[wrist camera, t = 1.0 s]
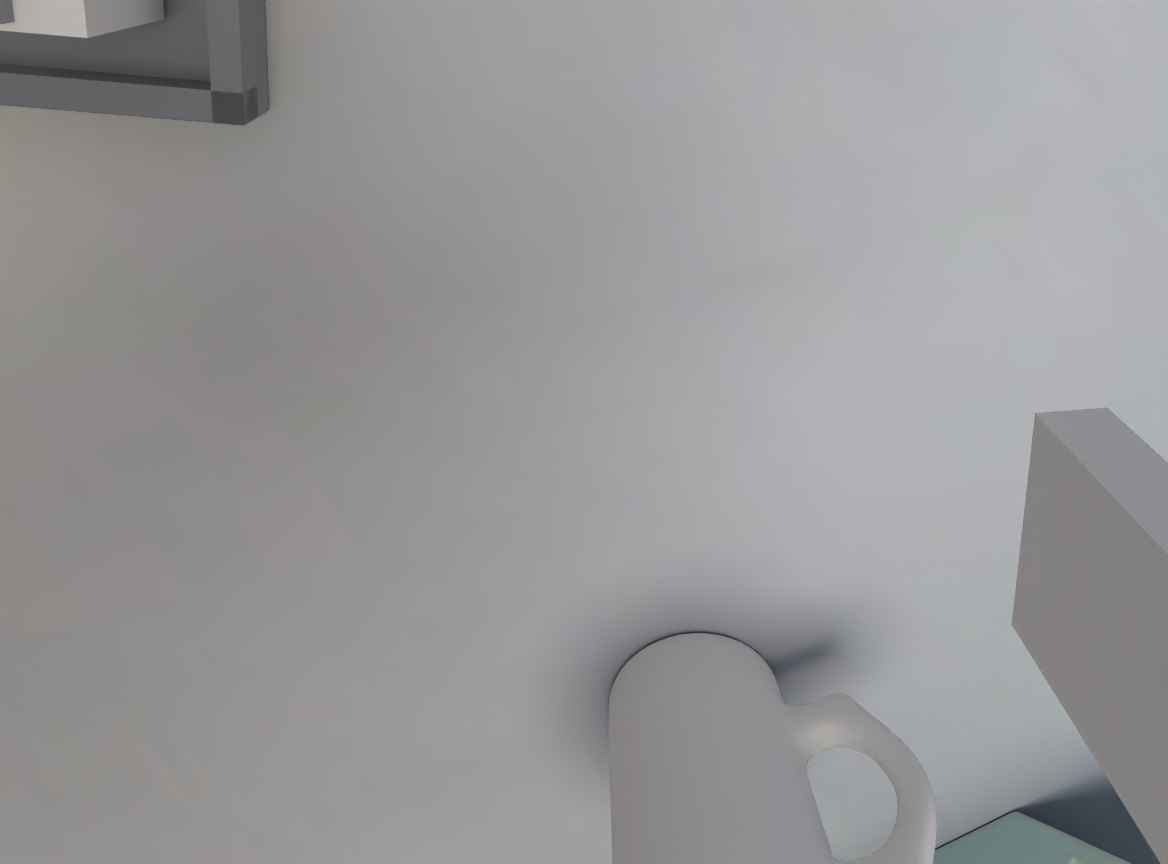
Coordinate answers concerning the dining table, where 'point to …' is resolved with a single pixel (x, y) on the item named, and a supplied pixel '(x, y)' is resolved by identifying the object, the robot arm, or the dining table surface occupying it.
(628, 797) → the mug
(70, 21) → the tab
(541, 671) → the dining table surface
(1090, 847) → the planter
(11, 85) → the switch bank
